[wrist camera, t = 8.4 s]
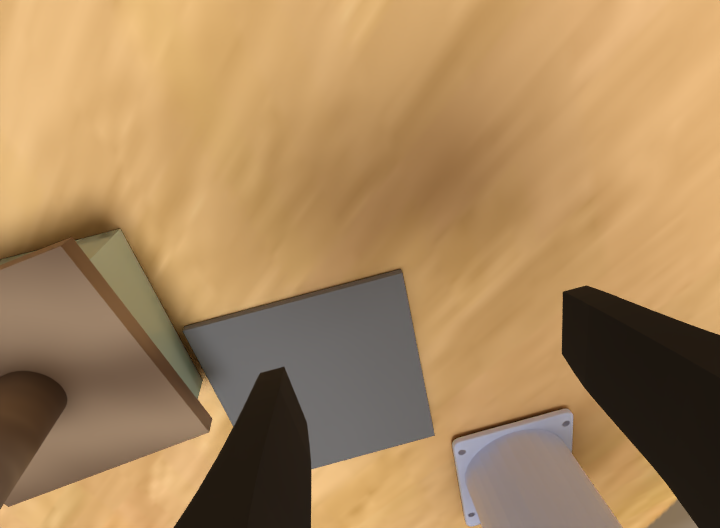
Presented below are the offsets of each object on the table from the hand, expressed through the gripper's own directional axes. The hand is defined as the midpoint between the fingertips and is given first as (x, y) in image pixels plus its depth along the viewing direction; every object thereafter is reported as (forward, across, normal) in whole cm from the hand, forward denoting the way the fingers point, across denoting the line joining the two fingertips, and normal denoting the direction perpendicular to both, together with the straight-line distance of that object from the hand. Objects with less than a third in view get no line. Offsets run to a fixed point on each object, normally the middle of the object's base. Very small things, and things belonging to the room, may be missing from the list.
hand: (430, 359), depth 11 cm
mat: (+10, +4, +9) cm, 14 cm away
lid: (+7, +15, +2) cm, 17 cm away
